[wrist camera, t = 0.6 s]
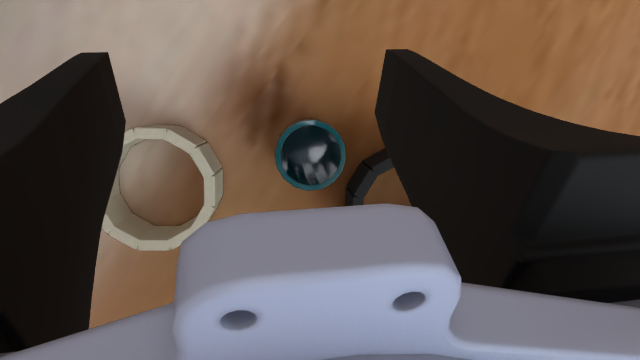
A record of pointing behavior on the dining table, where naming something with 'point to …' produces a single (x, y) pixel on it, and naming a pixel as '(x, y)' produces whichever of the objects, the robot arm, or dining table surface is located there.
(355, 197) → the black ring
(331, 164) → the espresso cup
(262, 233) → the robot arm
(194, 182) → the dining table surface
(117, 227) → the ivory ring
